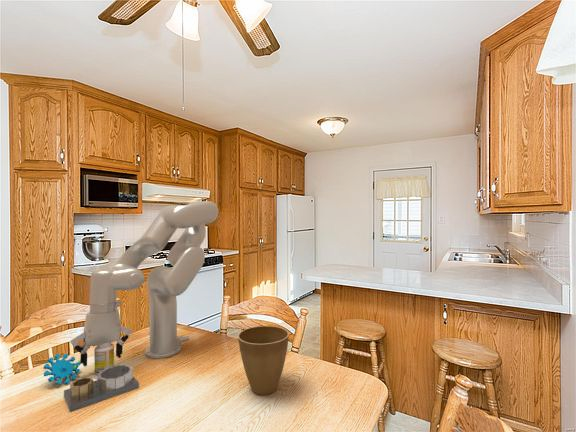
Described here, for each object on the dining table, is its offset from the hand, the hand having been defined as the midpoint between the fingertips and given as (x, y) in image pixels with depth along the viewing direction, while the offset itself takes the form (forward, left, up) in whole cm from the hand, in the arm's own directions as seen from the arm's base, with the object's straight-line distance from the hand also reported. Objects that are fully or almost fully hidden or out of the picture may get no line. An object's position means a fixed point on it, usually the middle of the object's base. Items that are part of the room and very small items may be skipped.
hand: (102, 360), depth 104 cm
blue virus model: (+10, -2, -4) cm, 11 cm away
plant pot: (-33, +43, -4) cm, 54 cm away
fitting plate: (+3, +13, -4) cm, 14 cm away
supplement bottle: (-1, 0, -4) cm, 4 cm away
